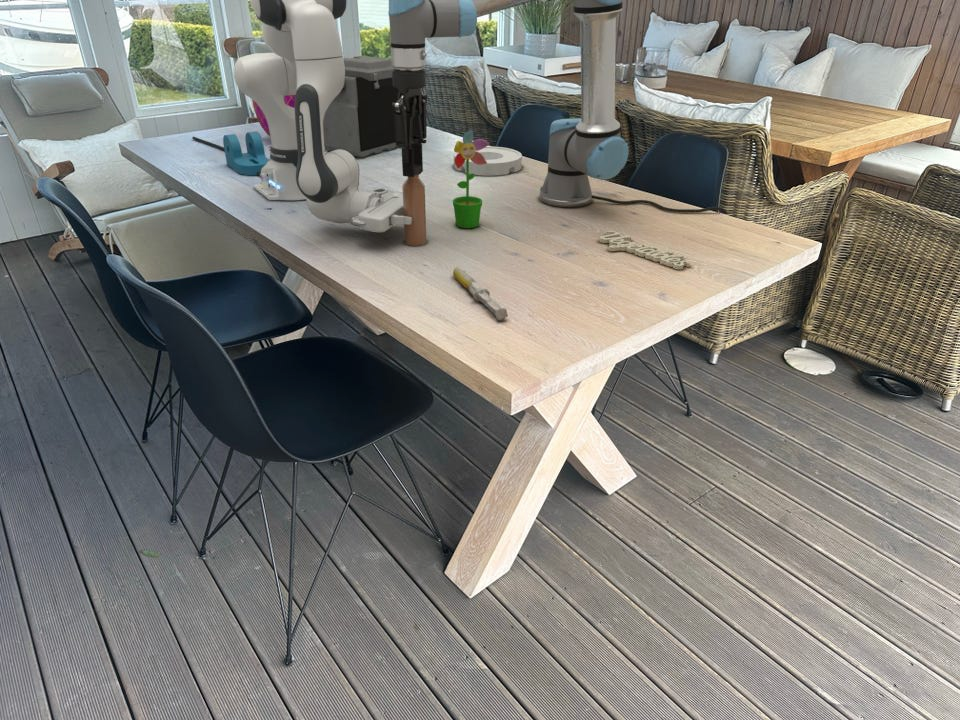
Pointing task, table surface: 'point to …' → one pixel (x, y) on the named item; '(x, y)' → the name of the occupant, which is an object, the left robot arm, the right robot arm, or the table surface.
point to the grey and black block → (363, 109)
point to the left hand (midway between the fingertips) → (418, 216)
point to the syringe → (479, 293)
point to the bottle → (414, 210)
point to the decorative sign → (643, 250)
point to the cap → (417, 169)
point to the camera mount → (245, 161)
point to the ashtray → (494, 162)
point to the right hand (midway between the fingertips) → (412, 173)
